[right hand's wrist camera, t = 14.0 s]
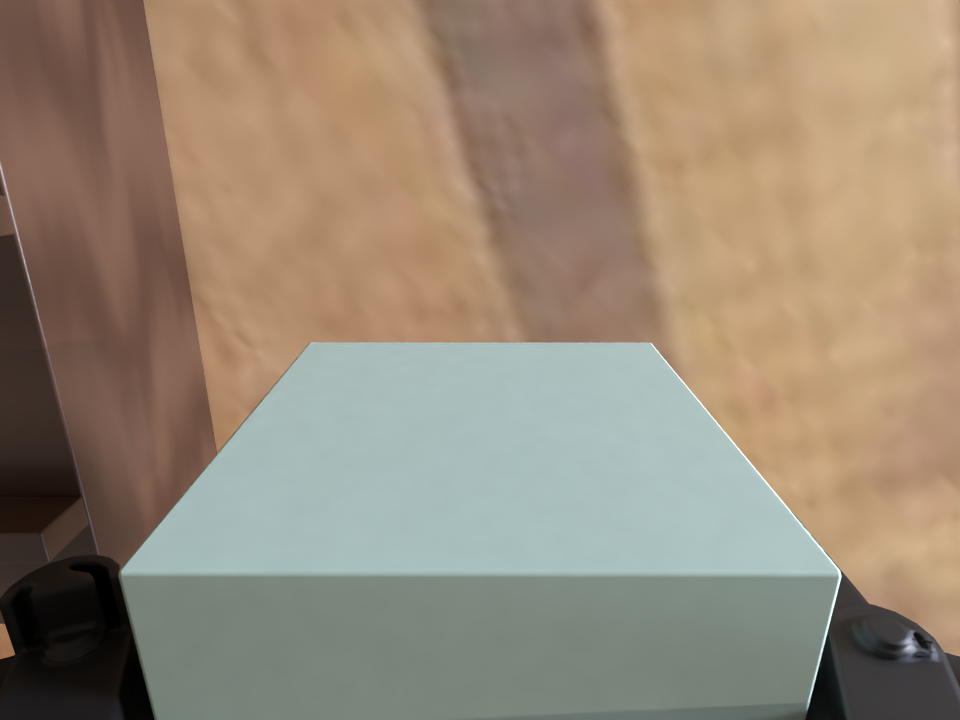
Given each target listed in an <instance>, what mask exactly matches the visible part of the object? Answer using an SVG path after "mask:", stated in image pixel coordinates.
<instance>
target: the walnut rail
mask: <svg viewBox="0 0 960 720" xmlns="http://www.w3.org/2000/svg"><path fill="white" fill-rule="evenodd" d="M216 454H217V451H216V445H215V438H214V432H213V426H212V420H211V414H210V408H209V402H208V396H207V389H206V383H205V377H204V371H203V365H202V359H201V353H200V347H199V341H198V334H197V328H196V322H195V316H194V310H193V304H192V298H191V292H190V285H189V279H188V273H187V267H186V261H185V255H184V249H183V243H182V236H181V230H180V224H179V218H178V212H177V206H176V200H175V194H174V188H173V181H172V175H171V169H170V163H169V157H168V151H167V145H166V139H165V132H164V126H163V120H162V114H161V108H160V102H159V96H158V90H157V83H156V77H155V71H154V65H153V59H152V53H151V47H150V41H149V35H148V28H147V22H146V16H145V10H144V4H143V0H0V598H1V597H2V596H3V594H4V593H5V592H6V591H7V589H8V588H9V587H10V586H12V585H13V584H14V583H16V582H17V581H19V580H20V579H21V578H23V577H24V576H26V575H27V574H28V573H31V572H33V571H35V570H37V569H39V568H41V567H43V566H45V565H47V564H50V563H52V562H56V561H59V560H63V559H66V558H70V557H73V556H83V555H100V556H106V557H110V558H112V559H113V560H114V561H115V562H117V563H118V564H119V565H120V569H121V568H122V566H123V565H124V564H125V563H126V562H127V560H128V559H129V558H130V557H131V556H132V554H133V553H134V552H135V551H136V550H137V548H138V547H139V546H140V545H141V544H142V542H143V541H144V540H145V539H146V538H147V537H148V535H149V534H150V533H151V532H152V531H153V529H154V528H155V527H156V526H157V525H158V523H159V522H160V521H161V520H162V519H163V517H164V516H165V515H166V514H167V513H168V511H169V510H170V509H171V508H172V507H173V505H174V504H175V503H176V502H177V501H178V499H179V498H180V497H181V496H182V495H183V493H184V492H185V491H186V490H187V489H188V488H189V486H190V485H191V484H192V483H193V482H194V480H195V479H196V478H197V477H198V476H199V474H200V473H201V472H202V471H203V470H204V468H205V467H206V466H207V465H208V464H209V462H210V461H211V460H212V459H213V458H214V456H215V455H216ZM0 624H5V622H4V619H3V616H2V614H1V611H0Z"/></svg>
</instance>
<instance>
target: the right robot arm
mask: <svg viewBox="0 0 960 720" xmlns="http://www.w3.org/2000/svg"><path fill="white" fill-rule="evenodd" d="M792 513H793V512H792ZM793 515H794V513H793ZM794 516H795V515H794ZM795 517H796V516H795ZM796 518H797V517H796ZM797 519H798V518H797ZM798 521H799V519H798ZM799 522H800V521H799ZM800 523H801V522H800ZM801 524H802V523H801ZM802 525H803V524H802ZM803 527H804V525H803ZM804 528H805V527H804ZM805 529H806V528H805ZM806 530H807V529H806ZM807 531H808V530H807ZM811 536H812V535H811ZM812 537H813V536H812ZM813 539H814V537H813ZM814 540H815V539H814ZM815 541H816V540H815ZM816 542H817V541H816ZM817 543H818V542H817ZM818 545H819V543H818ZM819 546H820V545H819ZM820 547H821V546H820ZM824 552H825V551H824ZM825 553H826V552H825ZM826 554H827V553H826ZM827 555H828V554H827ZM828 557H829V555H828ZM829 558H830V557H829ZM830 559H831V558H830ZM831 560H832V559H831ZM832 561H833V560H832ZM833 563H834V561H833ZM834 564H835V563H834ZM835 565H836V564H835ZM836 566H837V565H836ZM837 568H838V569H839V570H840V568H839V567H838V566H837ZM119 571H120V565H119V564H118V563H117V562H115V561H114V560H113V559H112V558H110V557H106V556H100V555H83V556H73V557H70V558H66V559H63V560H59V561H56V562H52V563H50V564H47V565H45V566H43V567H41V568H39V569H37V570H35V571H33V572H31V573H28V574H27V575H26V576H24V577H23V578H21V579H20V580H19V581H17V582H16V583H14V584H13V585H12V586H10V587H9V588H8V589H7V591H6V592H5V593H4V594H3V596H2V597H1V598H0V611H1V614H2V616H3V619H4V622H5V625H6V628H7V631H8V634H9V637H10V640H11V643H12V646H13V649H14V652H15V655H14V656H11V657H7V658H4V659H0V720H154V716H153V712H152V708H151V704H150V700H149V696H148V692H147V688H146V684H145V680H144V676H143V672H142V668H141V664H140V660H139V656H138V652H137V648H136V644H135V640H134V636H133V632H132V628H131V624H130V620H129V616H128V612H127V608H126V604H125V600H124V596H123V592H122V588H121V584H120V580H119V576H118V575H119ZM840 572H841V581H840V584H839V588H838V592H837V596H836V600H835V604H834V608H833V612H832V616H831V620H830V624H829V628H828V632H827V636H826V640H825V644H824V648H823V652H822V656H821V660H820V664H819V668H818V671H817V675H816V679H815V683H814V687H813V691H812V695H811V699H810V703H809V707H808V711H807V715H806V719H805V720H960V657H959V656H955V655H951V654H948V653H945V652H943V650H942V649H941V647H940V646H939V644H938V643H937V642H936V640H935V639H934V637H932V636H931V635H930V634H929V633H927V632H926V631H925V630H924V629H923V628H921V627H920V626H919V625H918V624H917V623H915V622H913V621H911V620H909V619H907V618H905V617H904V616H902V615H900V614H898V613H896V612H894V611H891V610H888V609H885V608H881V607H878V606H875V605H871V604H869V603H868V602H867V601H866V600H865V598H864V597H863V596H862V595H861V594H860V592H859V591H858V590H857V589H856V588H855V586H854V585H853V584H852V583H851V582H850V580H849V579H848V578H847V577H846V576H845V574H844V573H843V572H842V571H841V570H840Z"/></svg>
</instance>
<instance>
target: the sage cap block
mask: <svg viewBox="0 0 960 720" xmlns="http://www.w3.org/2000/svg"><path fill="white" fill-rule="evenodd" d="M118 576H119V580H120V584H121V588H122V592H123V596H124V600H125V604H126V608H127V612H128V616H129V620H130V624H131V628H132V632H133V636H134V640H135V644H136V648H137V652H138V656H139V660H140V664H141V668H142V672H143V676H144V680H145V684H146V688H147V692H148V696H149V700H150V704H151V708H152V712H153V716H154V720H805V719H806V715H807V711H808V707H809V703H810V699H811V695H812V691H813V687H814V683H815V679H816V675H817V671H818V668H819V664H820V660H821V656H822V652H823V648H824V644H825V640H826V636H827V632H828V628H829V624H830V620H831V616H832V612H833V608H834V604H835V600H836V596H837V592H838V588H839V584H840V581H841V572H840V570H839V569H838V568H837V566H836V565H835V564H834V563H833V561H832V560H831V559H830V558H829V557H828V555H827V554H826V553H825V552H824V551H823V549H822V548H821V547H820V546H819V545H818V543H817V542H816V541H815V540H814V539H813V537H812V536H811V535H810V534H809V533H808V531H807V530H806V529H805V528H804V527H803V525H802V524H801V523H800V522H799V521H798V519H797V518H796V517H795V516H794V515H793V513H792V512H791V511H790V510H789V509H788V507H787V506H786V505H785V504H784V503H783V501H782V500H781V499H780V498H779V497H778V495H777V494H776V493H775V492H774V491H773V489H772V488H771V487H770V486H769V484H768V483H767V482H766V481H765V480H764V478H763V477H762V476H761V475H760V474H759V472H758V471H757V470H756V469H755V468H754V466H753V465H752V464H751V463H750V462H749V460H748V459H747V458H746V457H745V456H744V454H743V453H742V452H741V451H740V450H739V448H738V447H737V446H736V445H735V444H734V442H733V441H732V440H731V439H730V438H729V436H728V435H727V434H726V433H725V432H724V430H723V429H722V428H721V427H720V426H719V424H718V423H717V422H716V421H715V420H714V418H713V417H712V416H711V415H710V414H709V412H708V411H707V410H706V409H705V407H704V406H703V405H702V404H701V403H700V401H699V400H698V399H697V398H696V397H695V395H694V394H693V393H692V392H691V391H690V389H689V388H688V387H687V386H686V385H685V383H684V382H683V381H682V380H681V379H680V377H679V376H678V375H677V374H676V373H675V371H674V370H673V369H672V368H671V367H670V365H669V364H668V363H667V362H666V361H665V359H664V358H663V357H662V356H661V355H660V353H659V352H658V351H657V350H656V349H655V347H654V346H653V345H652V344H651V343H346V342H311V343H309V344H308V345H307V347H306V348H305V349H304V350H303V351H302V352H301V354H300V355H299V356H298V357H297V358H296V360H295V361H294V362H293V363H292V364H291V366H290V367H289V368H288V369H287V370H286V372H285V373H284V374H283V375H282V376H281V378H280V379H279V380H278V381H277V382H276V384H275V385H274V386H273V387H272V388H271V390H270V391H269V392H268V393H267V394H266V395H265V397H264V398H263V399H262V400H261V401H260V403H259V404H258V405H257V406H256V407H255V409H254V410H253V411H252V412H251V413H250V415H249V416H248V417H247V418H246V419H245V421H244V422H243V423H242V424H241V425H240V427H239V428H238V429H237V430H236V431H235V433H234V434H233V435H232V436H231V437H230V439H229V440H228V441H227V442H226V443H225V444H224V446H223V447H222V448H221V449H220V450H219V452H218V453H217V454H216V455H215V456H214V458H213V459H212V460H211V461H210V462H209V464H208V465H207V466H206V467H205V468H204V470H203V471H202V472H201V473H200V474H199V476H198V477H197V478H196V479H195V480H194V482H193V483H192V484H191V485H190V486H189V488H188V489H187V490H186V491H185V492H184V493H183V495H182V496H181V497H180V498H179V499H178V501H177V502H176V503H175V504H174V505H173V507H172V508H171V509H170V510H169V511H168V513H167V514H166V515H165V516H164V517H163V519H162V520H161V521H160V522H159V523H158V525H157V526H156V527H155V528H154V529H153V531H152V532H151V533H150V534H149V535H148V537H147V538H146V539H145V540H144V541H143V542H142V544H141V545H140V546H139V547H138V548H137V550H136V551H135V552H134V553H133V554H132V556H131V557H130V558H129V559H128V560H127V562H126V563H125V564H124V565H123V566H122V568H121V569H120V571H119V575H118Z"/></svg>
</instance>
